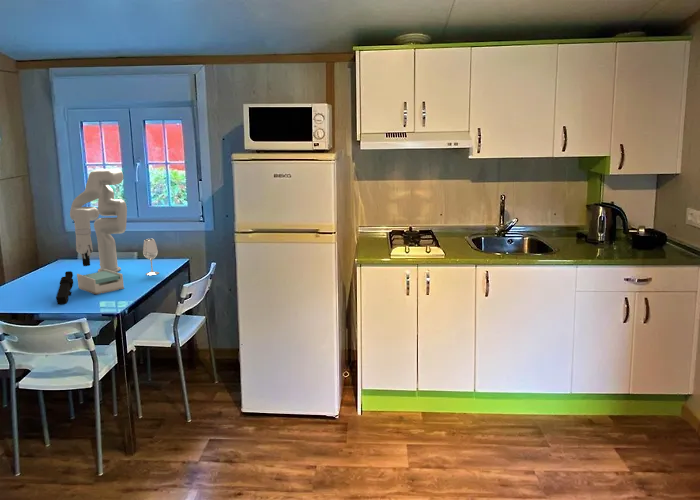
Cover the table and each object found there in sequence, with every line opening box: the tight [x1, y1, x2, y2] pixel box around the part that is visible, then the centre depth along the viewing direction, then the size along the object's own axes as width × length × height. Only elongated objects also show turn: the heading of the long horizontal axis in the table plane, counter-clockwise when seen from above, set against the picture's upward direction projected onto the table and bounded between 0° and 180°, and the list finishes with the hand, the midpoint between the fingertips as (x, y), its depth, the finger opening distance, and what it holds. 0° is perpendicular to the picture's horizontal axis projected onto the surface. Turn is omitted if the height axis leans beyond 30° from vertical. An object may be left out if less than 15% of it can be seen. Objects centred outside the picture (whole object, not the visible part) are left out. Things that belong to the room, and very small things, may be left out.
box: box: [76, 269, 125, 296], centre depth 315 cm, size 20×15×8 cm
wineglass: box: [142, 238, 160, 276], centre depth 343 cm, size 8×8×20 cm
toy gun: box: [55, 270, 74, 305], centre depth 299 cm, size 6×25×10 cm, turn 14°
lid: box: [82, 271, 119, 284], centre depth 314 cm, size 16×13×2 cm
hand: (86, 265), depth 322 cm, fingers closed
